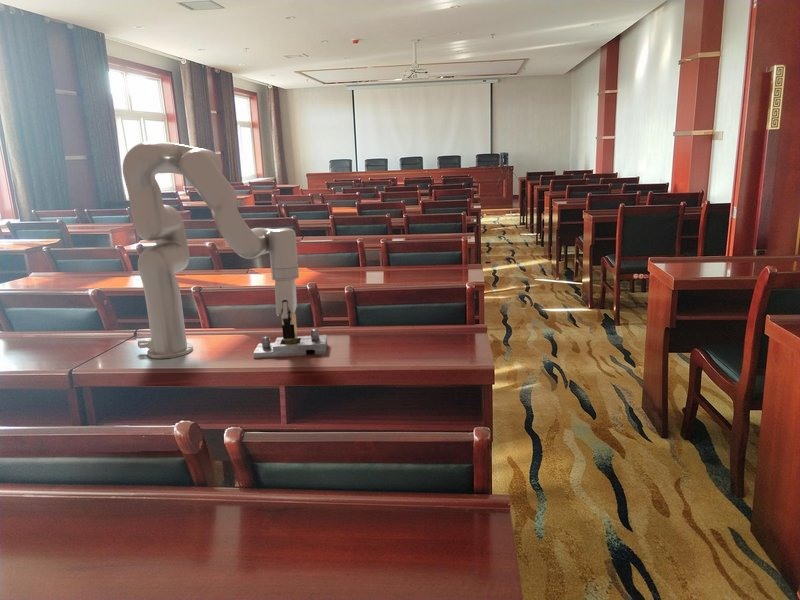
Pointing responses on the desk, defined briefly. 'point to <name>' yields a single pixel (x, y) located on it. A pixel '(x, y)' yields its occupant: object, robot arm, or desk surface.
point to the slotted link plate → (267, 350)
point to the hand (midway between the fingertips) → (290, 335)
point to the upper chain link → (304, 343)
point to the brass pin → (294, 340)
